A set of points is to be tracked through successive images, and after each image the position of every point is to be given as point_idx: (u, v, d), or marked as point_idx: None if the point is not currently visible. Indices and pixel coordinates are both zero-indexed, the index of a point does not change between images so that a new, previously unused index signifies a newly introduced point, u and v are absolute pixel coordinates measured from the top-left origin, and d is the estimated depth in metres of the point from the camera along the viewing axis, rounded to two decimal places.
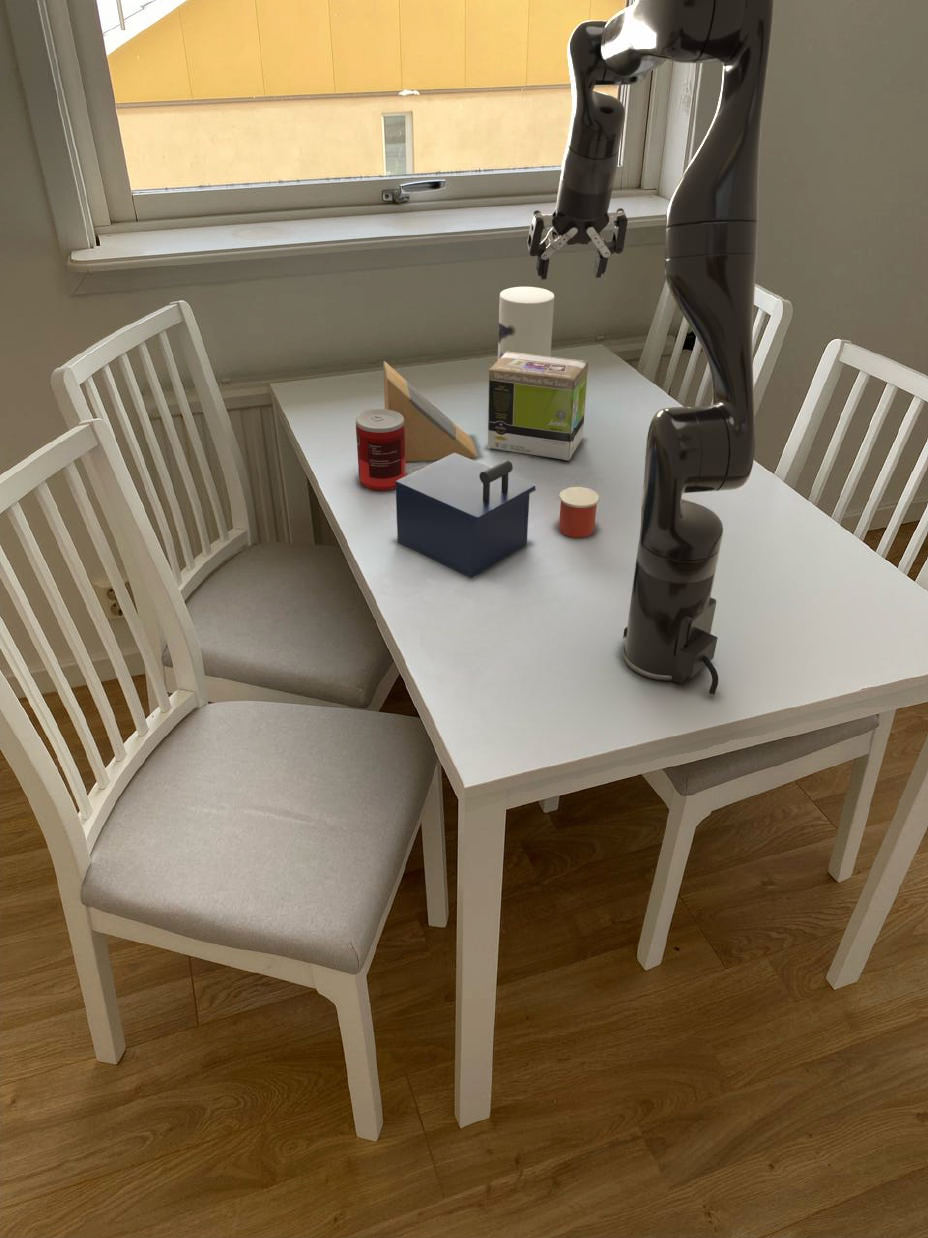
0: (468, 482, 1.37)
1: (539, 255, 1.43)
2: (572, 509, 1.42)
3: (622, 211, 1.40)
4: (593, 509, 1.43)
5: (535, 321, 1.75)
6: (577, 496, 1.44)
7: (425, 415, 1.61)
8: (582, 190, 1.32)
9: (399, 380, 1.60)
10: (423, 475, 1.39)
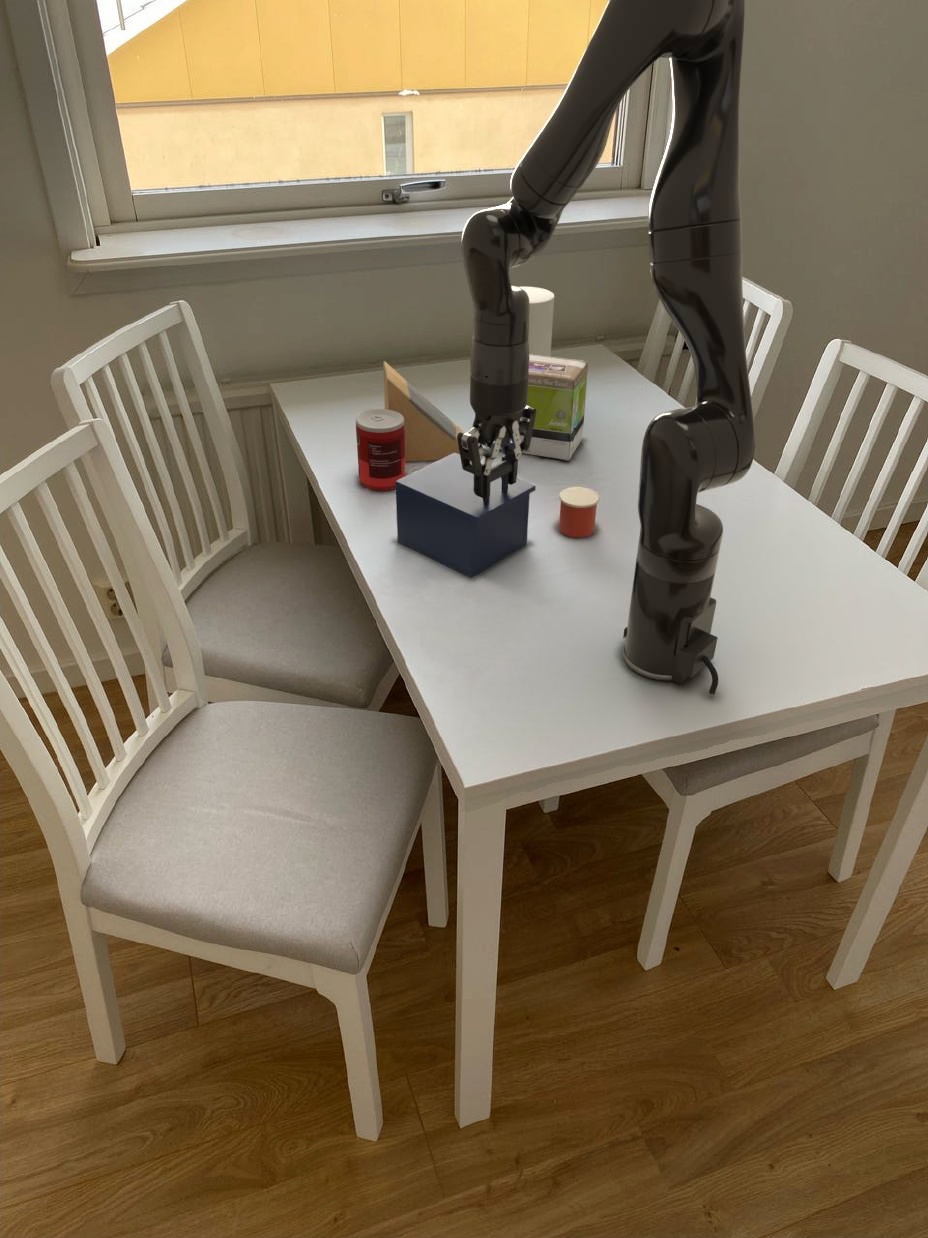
0: (468, 482, 1.37)
1: (481, 473, 1.28)
2: (572, 509, 1.42)
3: (526, 405, 1.32)
4: (593, 509, 1.43)
5: (535, 320, 1.75)
6: (577, 496, 1.44)
7: (425, 415, 1.61)
8: (512, 381, 1.21)
9: (399, 380, 1.60)
10: (423, 475, 1.39)
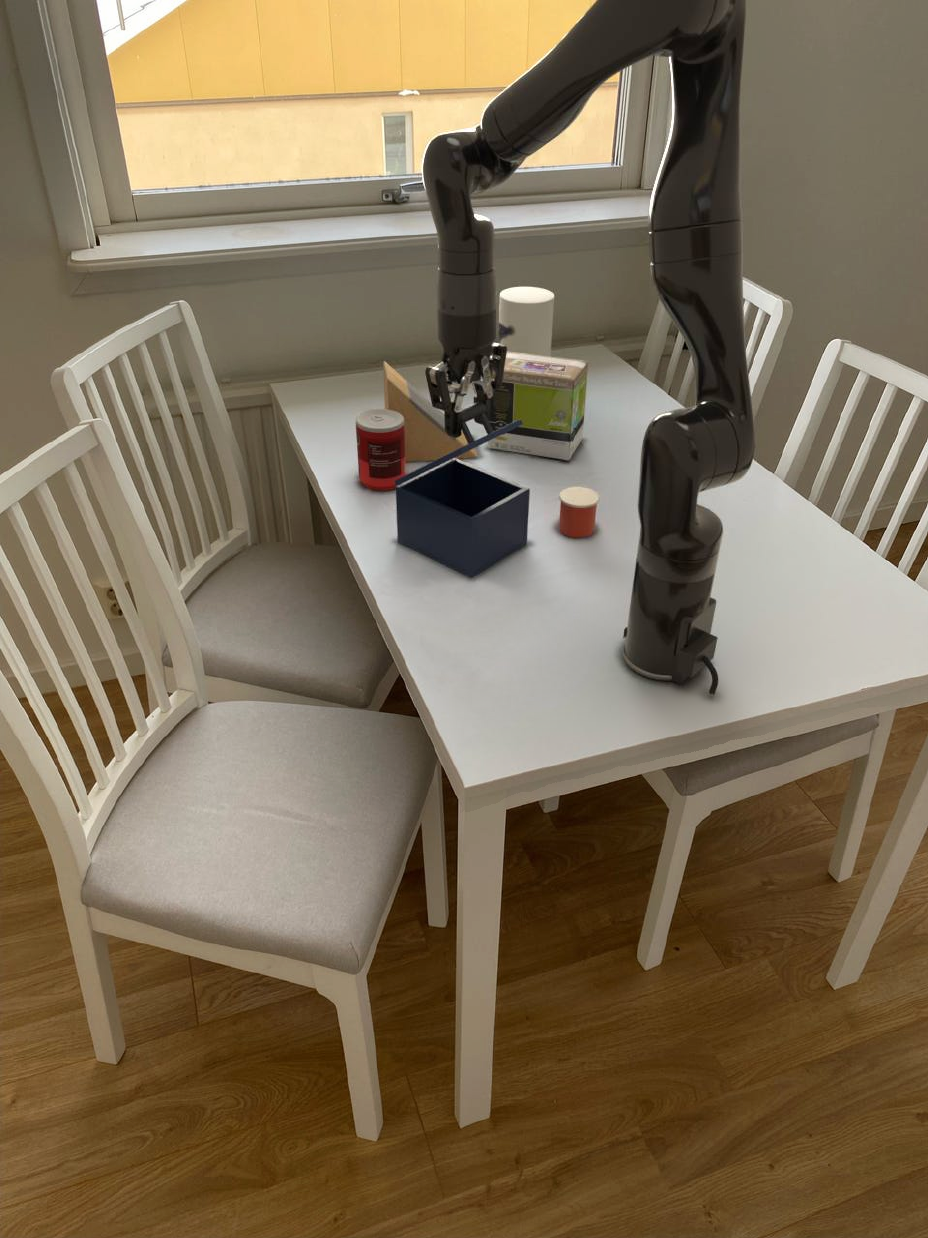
0: None
1: (451, 410, 1.27)
2: (572, 509, 1.42)
3: (496, 343, 1.30)
4: (593, 509, 1.43)
5: (535, 321, 1.75)
6: (577, 496, 1.44)
7: (425, 415, 1.61)
8: (479, 311, 1.20)
9: (399, 380, 1.60)
10: None
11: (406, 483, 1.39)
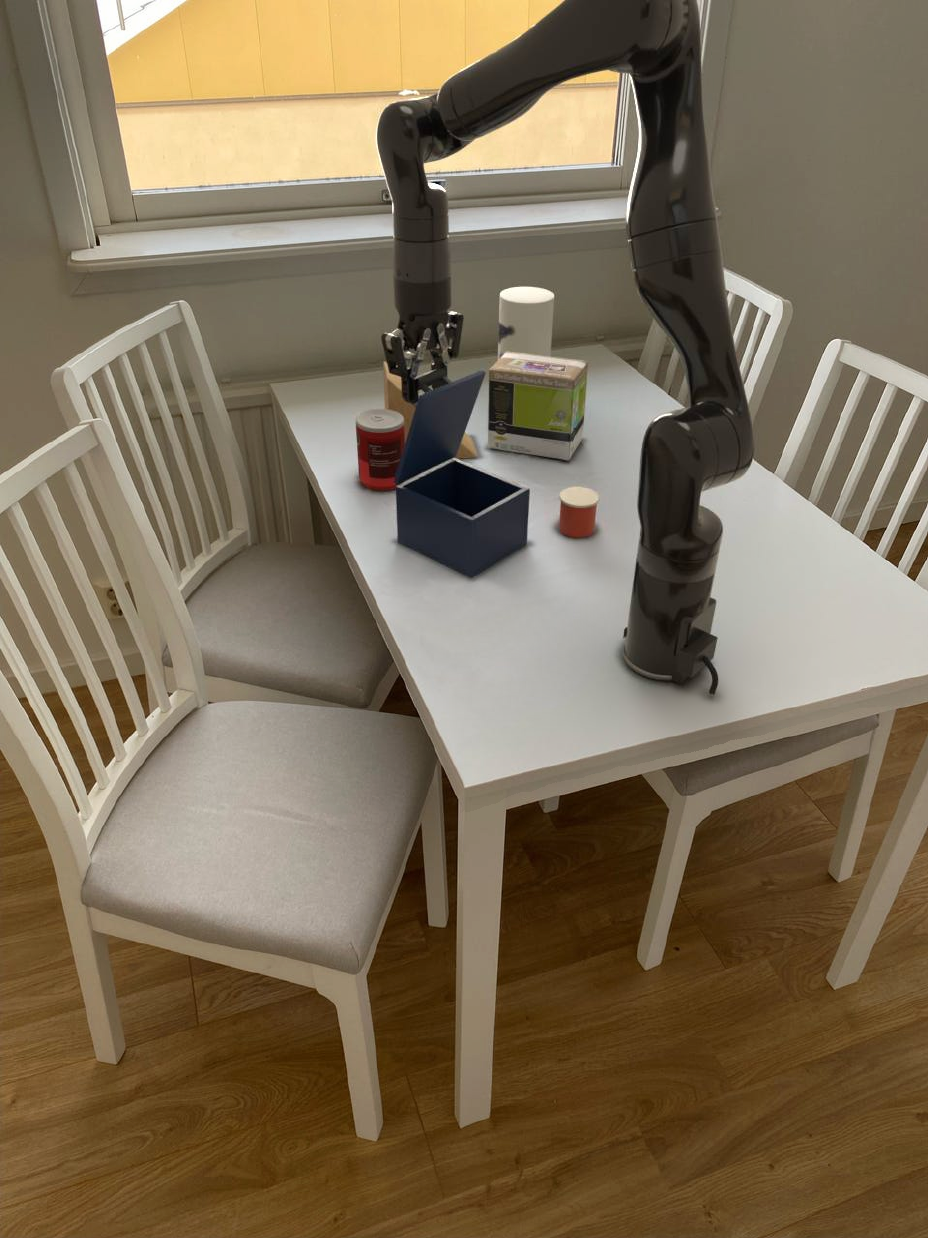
0: None
1: (407, 376, 1.30)
2: (572, 509, 1.42)
3: (453, 312, 1.33)
4: (593, 509, 1.43)
5: (535, 320, 1.75)
6: (577, 496, 1.44)
7: None
8: (433, 279, 1.22)
9: (399, 380, 1.60)
10: None
11: (406, 483, 1.39)
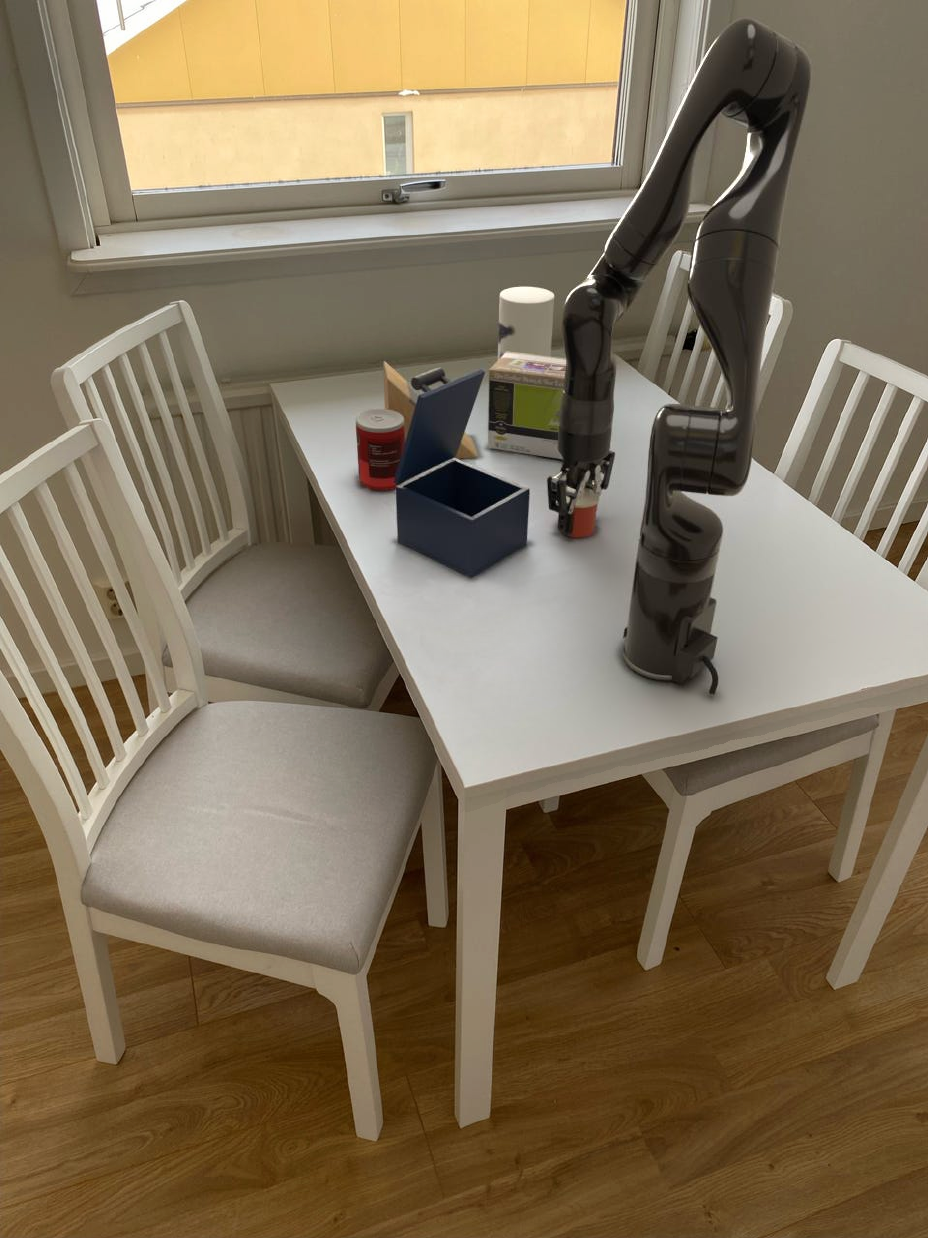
0: None
1: None
2: None
3: (557, 479, 1.37)
4: (593, 509, 1.43)
5: (535, 321, 1.75)
6: None
7: None
8: None
9: (399, 380, 1.60)
10: None
11: (406, 483, 1.39)
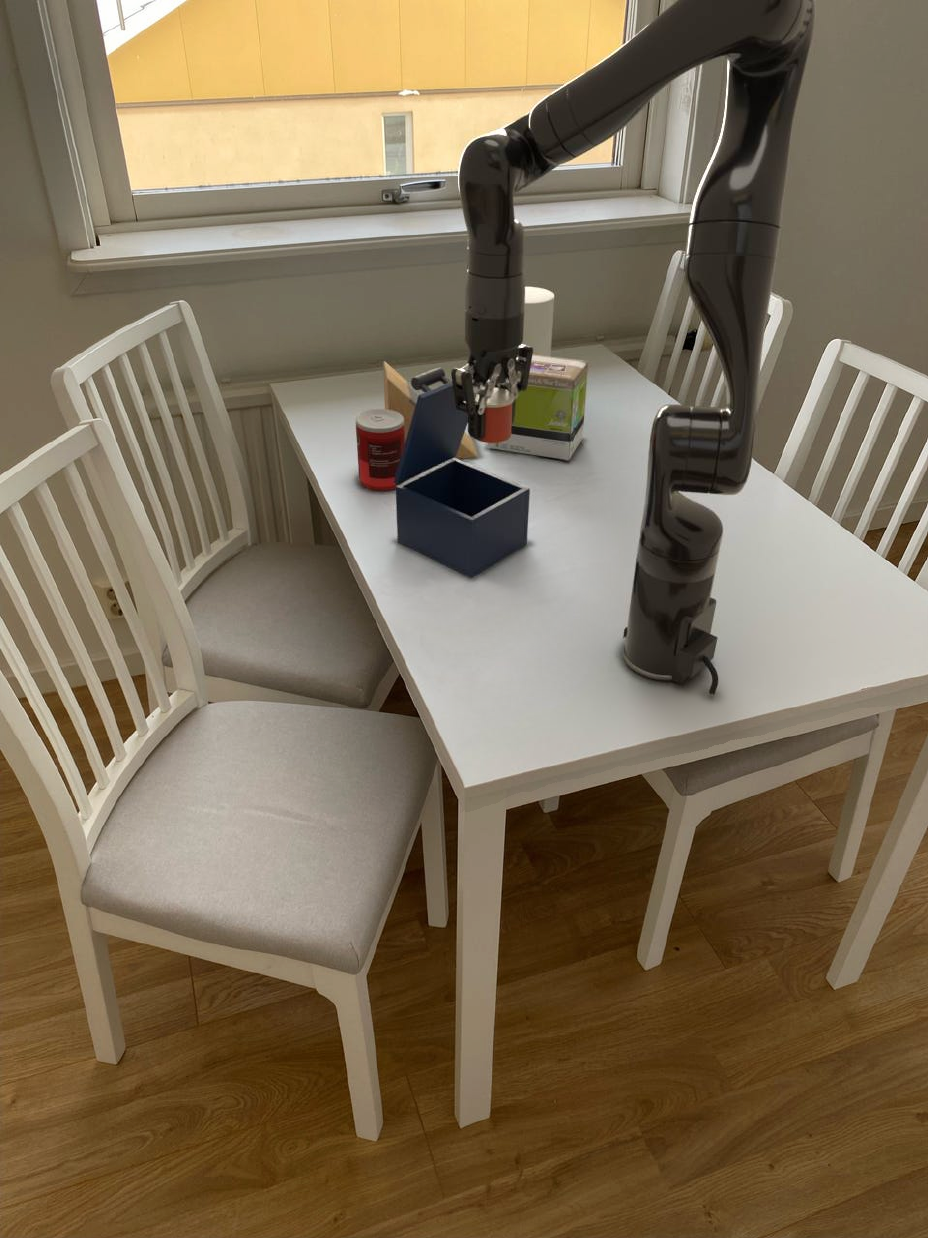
0: None
1: None
2: None
3: (462, 371, 1.22)
4: (507, 410, 1.28)
5: (535, 321, 1.75)
6: None
7: None
8: None
9: (399, 380, 1.60)
10: None
11: (406, 483, 1.39)
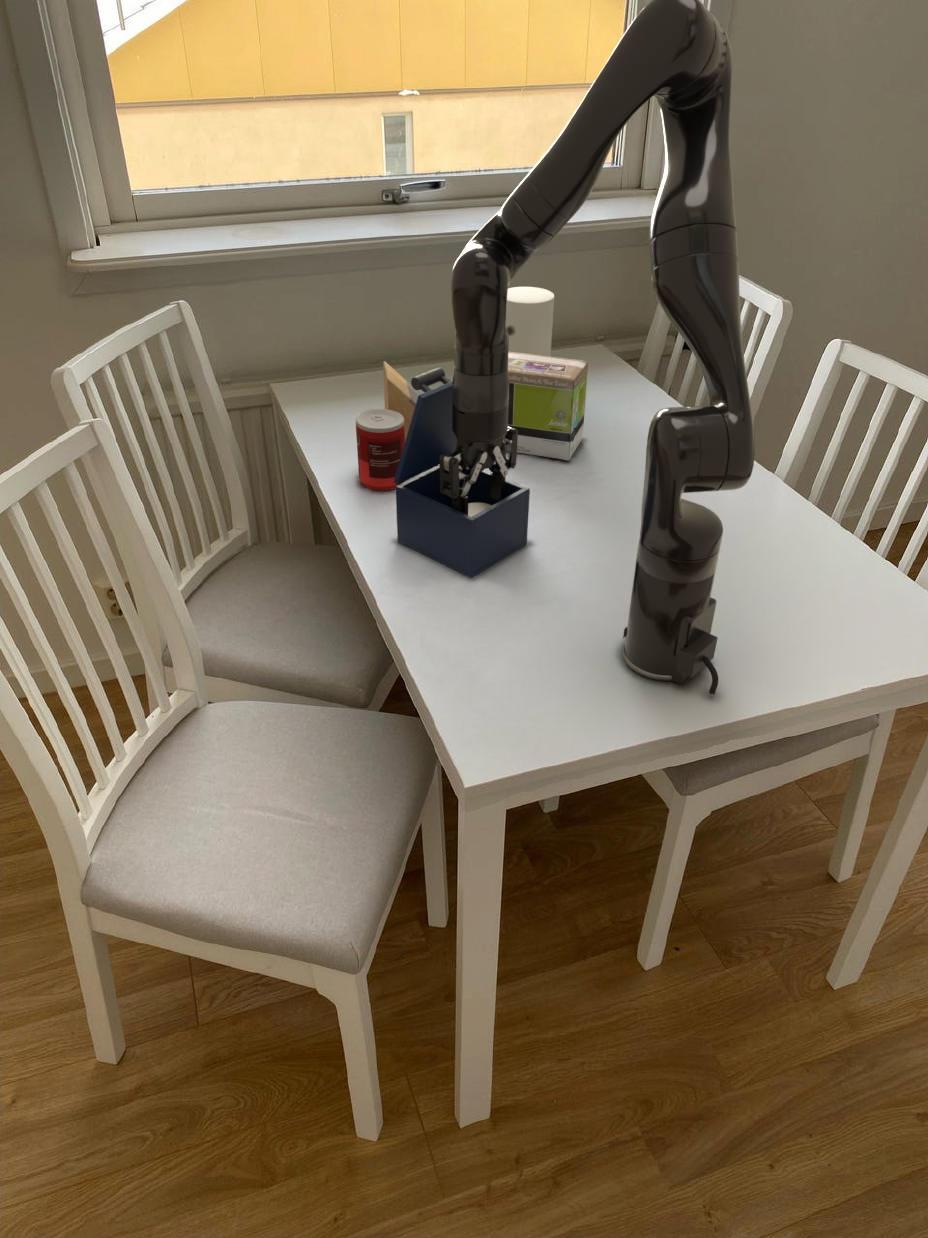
0: None
1: None
2: None
3: (450, 457, 1.27)
4: None
5: (535, 321, 1.75)
6: (475, 512, 1.38)
7: None
8: None
9: (399, 380, 1.60)
10: None
11: (406, 483, 1.39)
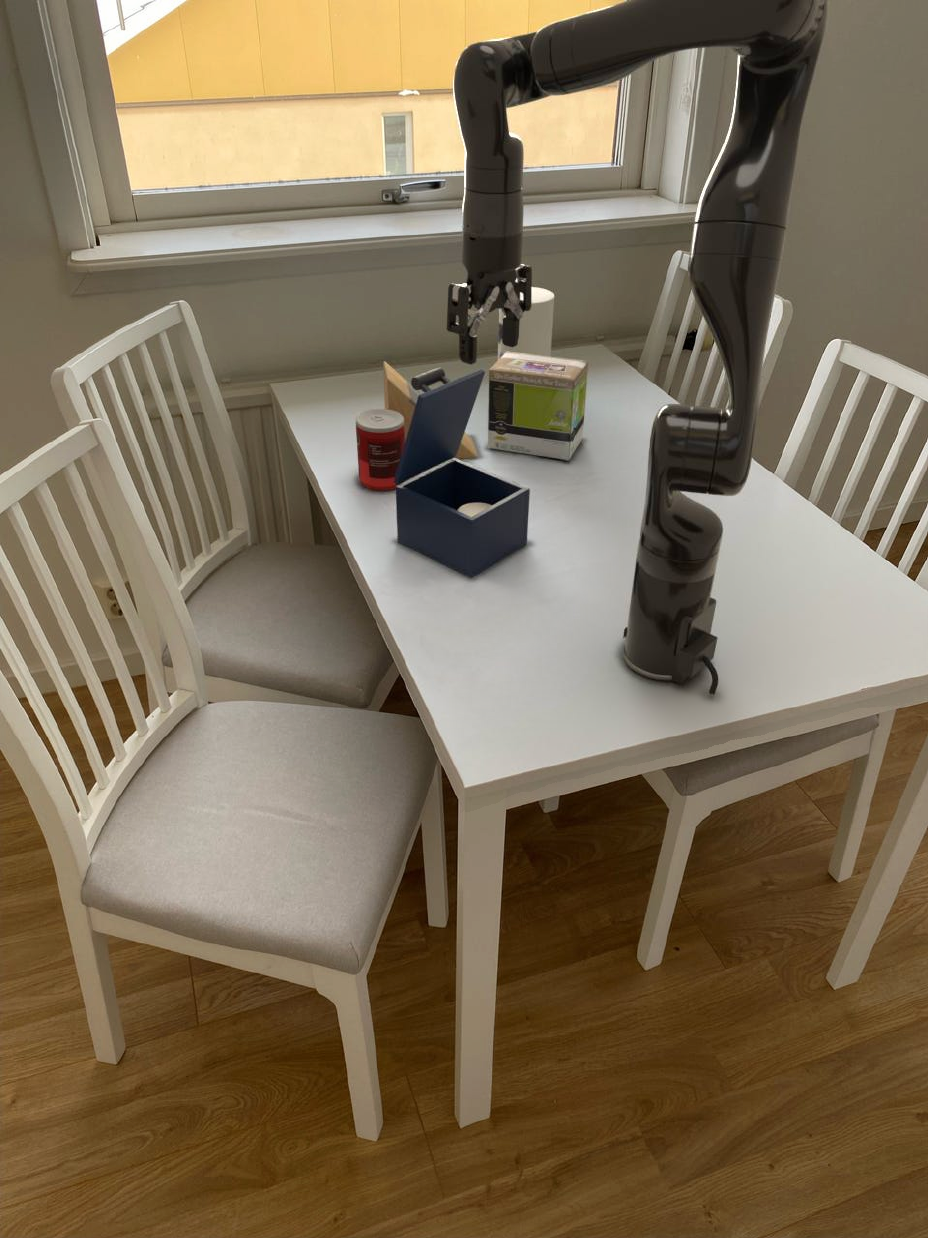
0: None
1: None
2: None
3: (460, 286, 1.19)
4: None
5: (535, 321, 1.75)
6: (475, 512, 1.38)
7: None
8: None
9: (399, 380, 1.60)
10: None
11: (406, 483, 1.39)
